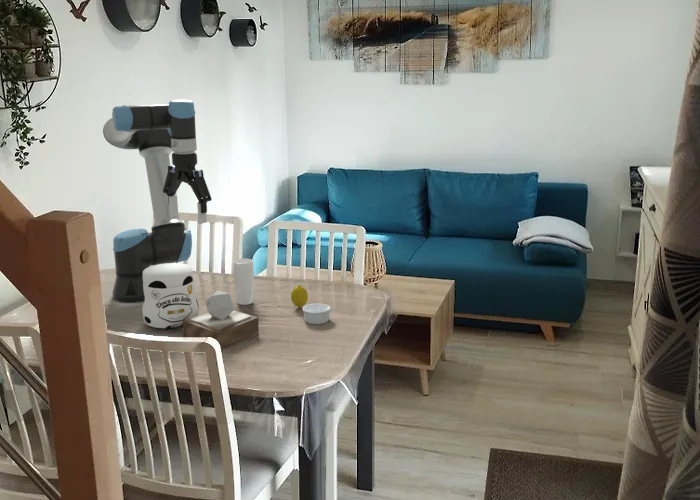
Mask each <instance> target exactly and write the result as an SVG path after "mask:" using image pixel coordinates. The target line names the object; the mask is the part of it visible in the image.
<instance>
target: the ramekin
mask: <svg viewBox="0 0 700 500" xmlns="http://www.w3.org/2000/svg"><path fill="white" fill-rule="evenodd" d="M302 311H303V318H304V322H305V323H307V324H310V325H323V324H325V323H328V322H329V320H330V312H331V306H330V305H328V304H326V303H319V302H317V303H308V304H305V305H304V306H302Z"/></svg>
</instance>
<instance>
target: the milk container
mask: <svg viewBox="0 0 700 500" xmlns="http://www.w3.org/2000/svg"><path fill="white" fill-rule="evenodd" d="M194 275H195V274H194V269H193V267H192V266H191V265H189V264H186V263H181V262H178V263H165V264H158V265H153V266H150V267H148V268H146V269H145V270H144V271H143V290H144V301H143V303H142V308H141V309H142V311H141V312H142V318H143V321H144V323H145V325H147V326H148V327H150V328H151V329H155V330H162V331H169V330H170V331H171V330H173V331H174V330H178V329H183V323H182V321H183V320H185V319H188V318H191V317H194V316H197V315H199V313H200V309H199V307H200V305H199V302H198V299H197V296H196V291H195V276H194Z"/></svg>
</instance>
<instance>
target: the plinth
mask: <svg viewBox="0 0 700 500" xmlns="http://www.w3.org/2000/svg"><path fill="white" fill-rule="evenodd" d="M182 323H183V328H182V336H183V338H184V337H212V338H214V339H216V340H217V341H218V342H219V344H220V346H221V349H222V350H224V349H223V348H225V349H227V348H230V347H232V346H234V345H236V344H238V343H241V342H244V341H246V340H248V339H251V338H254V337H255V336H258V335H259V334H260V331H259V330H260V329H259V317H258V316H255V315H252V314H248V313H245V312H242V311H239V310H236V309H235V310H234V311H233V312H232V313H230V314H229V315H228V316H227V317H226V318H225V319H224V320H220V319H217V318H214V317H212V316H211V315H210V314H209V313H208V311H206V312H202V313H200V314H198V315H197V316H194V317H191V318H188V319H185V320H183V321H182ZM231 345H232V346H231ZM226 347H227V348H226Z"/></svg>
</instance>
